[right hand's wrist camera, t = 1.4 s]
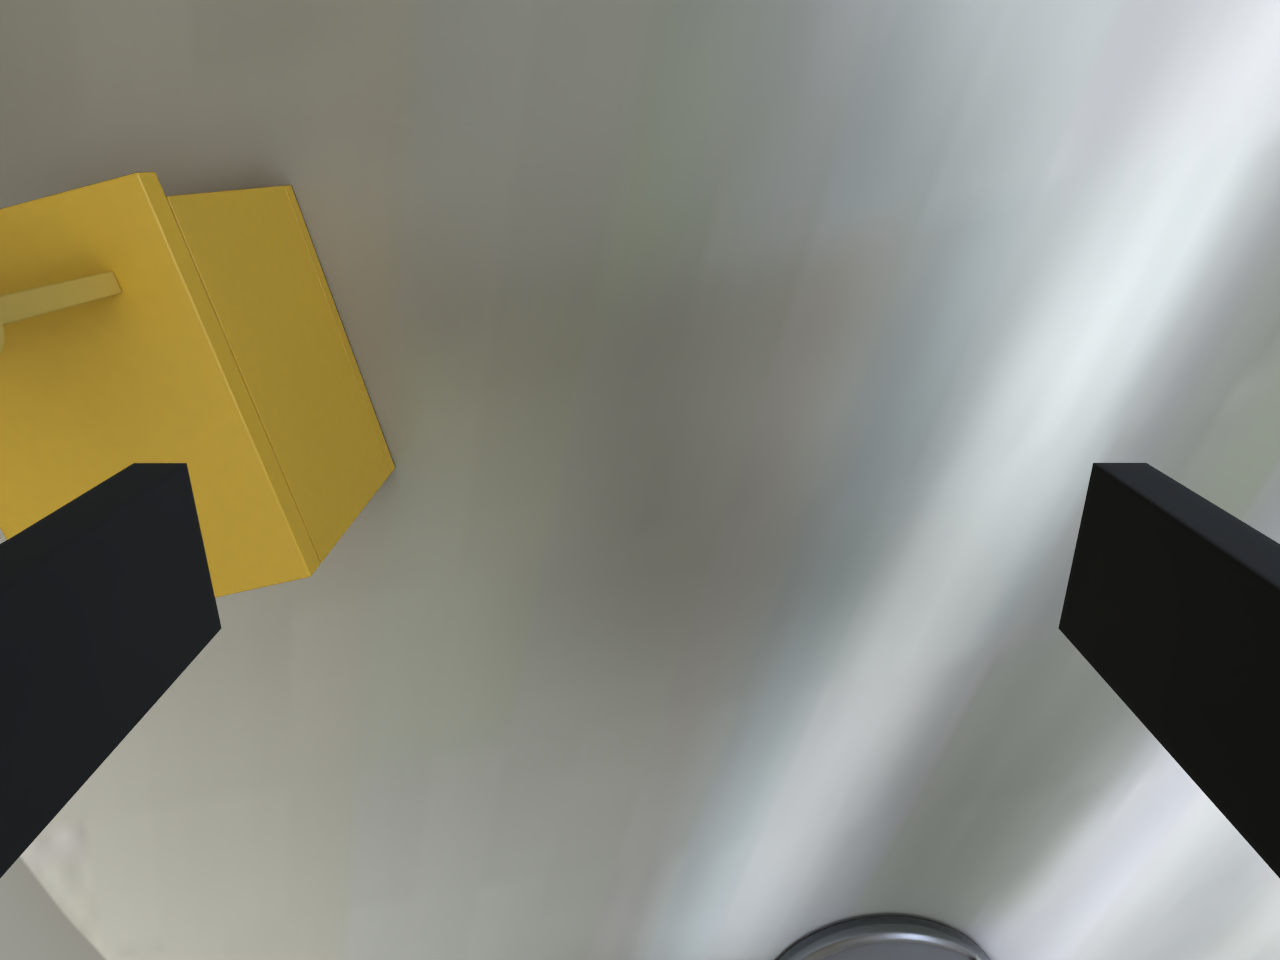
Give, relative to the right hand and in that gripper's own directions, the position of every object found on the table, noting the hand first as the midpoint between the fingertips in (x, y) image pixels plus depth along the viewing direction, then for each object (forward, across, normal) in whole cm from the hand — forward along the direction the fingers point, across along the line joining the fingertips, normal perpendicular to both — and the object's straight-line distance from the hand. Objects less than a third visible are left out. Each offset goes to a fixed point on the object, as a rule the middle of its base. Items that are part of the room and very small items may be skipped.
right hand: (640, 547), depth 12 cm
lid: (+16, +18, +3) cm, 24 cm away
